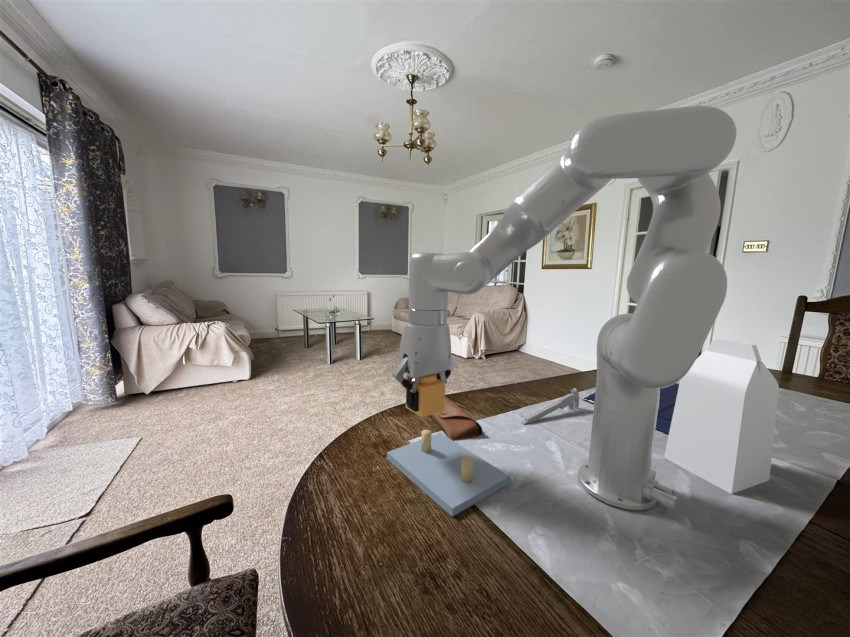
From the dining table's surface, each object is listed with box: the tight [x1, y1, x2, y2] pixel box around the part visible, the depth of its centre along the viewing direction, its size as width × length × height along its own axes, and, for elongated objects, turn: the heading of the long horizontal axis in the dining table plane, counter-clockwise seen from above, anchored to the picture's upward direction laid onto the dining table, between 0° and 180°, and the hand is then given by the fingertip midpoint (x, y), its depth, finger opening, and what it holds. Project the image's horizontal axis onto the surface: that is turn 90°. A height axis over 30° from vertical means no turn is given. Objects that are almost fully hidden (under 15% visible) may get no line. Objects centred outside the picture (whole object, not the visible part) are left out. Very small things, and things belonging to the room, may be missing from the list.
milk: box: [663, 337, 780, 495], centre depth 66 cm, size 12×12×26 cm
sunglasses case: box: [428, 395, 483, 442], centre depth 86 cm, size 18×7×7 cm, turn 24°
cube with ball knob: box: [405, 374, 446, 418], centre depth 69 cm, size 6×6×7 cm
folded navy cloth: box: [583, 382, 680, 435], centre depth 98 cm, size 24×30×4 cm
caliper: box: [520, 387, 580, 425], centre depth 90 cm, size 21×1×6 cm, turn 119°
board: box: [386, 429, 511, 517], centre depth 66 cm, size 20×14×6 cm
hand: (425, 404), depth 69 cm, fingers closed on cube with ball knob, 5 cm apart
